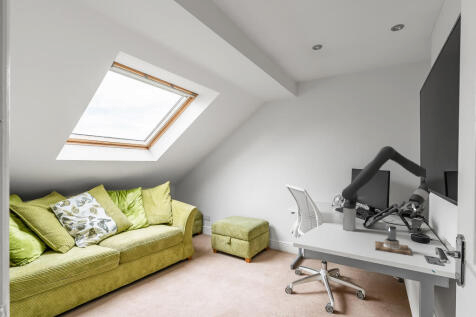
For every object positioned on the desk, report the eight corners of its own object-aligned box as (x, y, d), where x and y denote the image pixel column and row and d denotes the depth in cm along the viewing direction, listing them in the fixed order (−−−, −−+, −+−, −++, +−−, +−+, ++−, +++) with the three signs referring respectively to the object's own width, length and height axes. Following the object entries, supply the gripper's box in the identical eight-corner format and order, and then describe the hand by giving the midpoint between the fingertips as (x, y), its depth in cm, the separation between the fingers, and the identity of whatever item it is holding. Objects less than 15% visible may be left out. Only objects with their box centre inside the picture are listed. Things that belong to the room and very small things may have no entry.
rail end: (387, 246, 153) (387, 227, 153) (387, 244, 158) (387, 225, 158) (396, 247, 151) (396, 228, 151) (396, 245, 155) (396, 226, 155)
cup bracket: (375, 249, 152) (375, 241, 152) (375, 243, 165) (375, 235, 165) (410, 255, 144) (410, 245, 144) (407, 248, 156) (407, 239, 156)
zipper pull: (423, 220, 202) (422, 226, 182) (423, 228, 202) (422, 235, 182) (410, 218, 207) (408, 224, 188) (410, 226, 207) (408, 233, 188)
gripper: (405, 192, 168) (392, 209, 165) (426, 195, 154) (412, 214, 151) (411, 199, 169) (398, 217, 166) (433, 203, 156) (419, 222, 152)
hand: (405, 215), depth 158 cm, fingers open, 8 cm apart
